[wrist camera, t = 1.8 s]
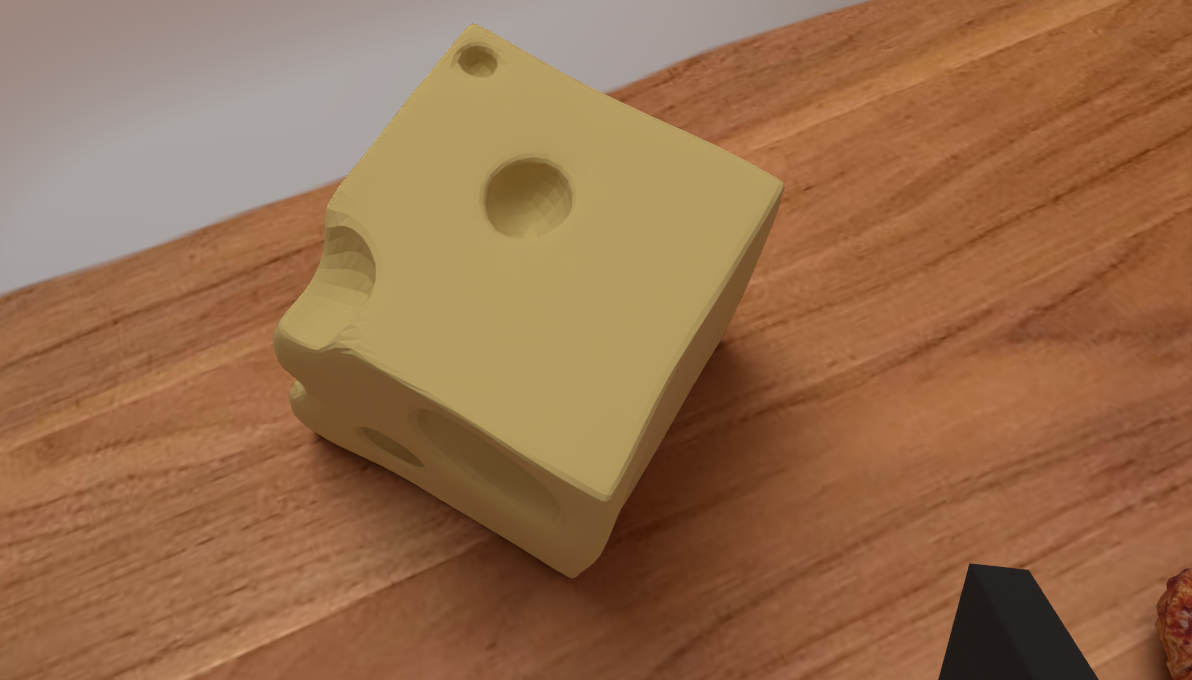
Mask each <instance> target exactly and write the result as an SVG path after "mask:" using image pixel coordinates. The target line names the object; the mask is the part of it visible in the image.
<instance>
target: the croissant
mask: <svg viewBox="0 0 1192 680" xmlns="http://www.w3.org/2000/svg"><path fill="white" fill-rule="evenodd" d="M1156 607H1157V611H1158V615H1159V617H1158V619H1157V621H1156V623H1155V626H1156V629H1157V632H1158V635H1159V638H1160V641H1161V643H1162V645H1163V647H1164V649H1165V652H1166V654H1167V656H1168V660H1167V663H1166V664H1167V666H1168V668H1169V671H1170V673H1171V676H1172V678H1173V680H1192V568H1189V569H1184V570H1183V571H1182V572H1181V573H1180V574H1178V575H1177V576H1175V577H1172V578H1170V579H1169V580H1168V581H1167V590H1166V591H1165V592H1164V593H1163V595H1162V596H1161V597H1160V599H1159V602H1158V604H1157V606H1156Z"/></svg>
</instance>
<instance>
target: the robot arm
mask: <svg viewBox="0 0 1192 680" xmlns="http://www.w3.org/2000/svg"><path fill="white" fill-rule="evenodd" d="M938 680H1098V678H1097V676H1096V675H1095V673H1094V672H1093V670H1092V669H1091V667H1090V665H1089V664H1088V662H1087V661H1086V659H1085V658H1084V656H1083V654H1082V653H1081V651H1080V650H1079V648H1078V647H1077V645H1076V643H1075V642H1074V640H1073V639H1072V637H1071V636H1070V634H1069V632H1068V631H1067V629H1066V628H1065V626H1064V625H1063V623H1062V621H1061V620H1060V618H1059V617H1058V615H1057V614H1056V612H1055V610H1054V609H1053V607H1052V606H1051V604H1050V603H1049V601H1048V600H1047V598H1046V596H1045V595H1044V593H1043V592H1042V590H1041V589H1040V587H1039V585H1038V584H1037V582H1036V581H1035V579H1034V578H1033V576H1032V574H1031V573H1030V571H1029V570H1025V569H1016V568H1007V567H998V566H989V565H980V564H971V563H970V564H969V567H968V571H967V575H966V579H965V582H964V586H963V590H962V593H961V597H960V601H959V605H958V608H957V612H956V616H955V620H954V623H953V627H952V631H951V635H950V638H949V642H948V646H947V649H946V653H945V657H944V661H943V664H942V668H941V672H940V676H939V679H938Z"/></svg>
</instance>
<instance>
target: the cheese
mask: <svg viewBox="0 0 1192 680" xmlns="http://www.w3.org/2000/svg"><path fill="white" fill-rule="evenodd" d="M784 188H785V187H784V183H783V182H782V181H781V180H779V179H778V178H776V177H774V176H773V175H771V174H769V173H767V172H765V171H763V170H761V169H760V168H758V167H756V166H755V165H753V164H751V163H749V162H748V161H746V160H744V159H742V158H740V157H738V156H736V155H734V154H732V153H730V152H728V151H726V150H724V149H722V148H720V147H718V146H716V145H714V144H712V143H710V142H708V141H705V140H703V139H701V138H699V137H696V136H694V135H692V134H690V133H687V132H685V131H683V130H681V129H679V128H676V127H674V126H672V125H670V124H667V123H665V122H663V121H661V120H659V119H656V118H654V117H652V116H650V115H648V114H645V113H643V112H641V111H639V110H637V109H635V108H633V107H630V106H628V105H626V104H624V103H622V102H620V101H618V100H616V99H614V98H612V97H610V96H607V95H605V94H603V93H601V92H599V91H597V90H595V89H593V88H591V87H589V86H587V85H585V84H583V83H581V82H580V81H578V80H576V79H574V78H572V77H570V76H568V75H566V74H564V73H562V72H560V71H559V70H557V69H555V68H553V67H552V66H550V65H548V64H546V63H545V62H543V61H541V60H539V59H538V58H536V57H534V56H532V55H530V54H529V53H527V52H525V51H524V50H522V49H520V48H519V47H517V46H515V45H513V44H512V43H510V42H508V41H507V40H505V39H503V38H501V37H500V36H498V35H496V34H494V33H492V32H491V31H489V30H487V29H485V28H483V27H481V26H478V25H477V24H471V25H469V26H468V27H467V28H466V29H465V31H464V32H463V33H462V34H461V35H460V36H459V37H458V39H457V40H456V41H455V42H454V43H453V45H452V46H451V47H450V48H449V50H448V51H447V52H446V53H445V55H444V56H443V57H442V58H441V59H440V61H439V62H438V63H437V65H436V66H435V67H434V68H433V70H432V71H431V72H430V74H429V75H428V76H427V77H426V78H425V80H424V81H423V82H422V83H421V84H420V85H419V86H418V87H417V88H416V90H415V91H414V92H413V93H412V95H411V96H410V97H409V98H408V100H407V101H406V103H405V104H404V105H403V106H402V108H401V109H400V110H399V111H398V113H397V114H396V115H395V117H394V118H393V119H392V121H391V122H390V123H389V124H388V126H387V127H386V128H385V129H384V131H383V132H382V133H381V135H380V136H379V137H378V138H377V140H376V141H375V142H374V143H373V145H372V146H371V147H370V148H369V150H368V151H367V152H366V153H365V155H364V156H363V157H362V158H361V159H360V161H359V162H358V163H357V164H356V165H355V167H354V168H353V169H352V170H351V172H350V173H349V174H348V176H347V177H346V178H345V180H344V181H343V182H342V183H341V184H340V186H339V187H338V188H337V190H336V192H335V193H334V195H333V197H332V198H331V200H330V202H329V203H328V205H327V207H326V216H325V224H324V237H325V242H324V248H323V254H322V258H321V261H320V264H319V267H318V269H317V271H316V273H315V275H314V277H313V279H312V281H311V282H310V284H309V285H308V287H307V288H306V290H305V291H304V292H303V293H302V294H301V296H300V297H299V298H298V299H297V300H296V302H295V303H294V304H293V305H292V306H291V307H290V308H289V310H288V311H287V312H286V313H285V314H284V316H283V317H282V319H281V320H280V322H279V324H278V326H277V328H276V330H275V332H274V335H273V345H274V349H275V353H276V356H277V358H278V360H279V362H280V364H281V365H282V367H283V368H284V369H285V370H286V371H288V372H289V373H290V374H291V375H292V376H293V377H295V378H296V379H297V381H296V382H295V383H294V384H293V386H292V389H291V391H290V392H289V398H290V405H291V407H292V410H293V412H294V414H295V416H296V417H297V418H298V419H299V420H300V421H301V422H302V423H303V424H304V425H306V426H307V427H308V428H310V429H311V430H313V431H314V432H316V433H318V434H319V435H321V436H322V437H324V438H326V439H327V440H329V441H331V442H333V443H335V444H336V445H338V446H341V447H343V448H345V449H347V450H349V451H351V452H353V453H355V454H357V455H360V456H362V457H364V458H366V459H368V460H370V461H372V462H375V463H377V464H379V465H381V466H383V467H385V468H387V469H389V470H390V471H392V472H394V473H396V474H398V475H400V476H401V477H403V478H405V479H407V480H409V481H410V482H412V483H414V484H415V485H417V486H418V487H420V488H422V489H423V490H425V491H427V492H428V493H430V494H432V495H433V496H435V497H436V498H438V499H440V500H441V501H443V502H445V503H446V504H448V505H450V506H451V507H453V508H455V509H456V510H458V511H460V512H462V513H463V514H465V515H467V516H468V517H470V518H472V519H473V520H475V521H477V522H478V523H480V524H482V525H483V526H485V527H487V528H488V529H490V530H492V531H493V532H495V533H497V534H498V535H500V536H502V537H503V538H505V539H507V540H508V541H510V542H512V543H513V544H515V545H516V546H518V547H520V548H521V549H523V550H524V551H526V552H528V553H529V554H531V555H532V556H534V557H536V558H537V559H539V560H540V561H542V562H544V563H545V564H547V565H548V566H550V567H552V568H553V569H555V570H557V571H559V572H560V573H562V574H564V575H565V576H567V577H569V578H576V577H577V576H578V575H579V574H580V573H581V572H582V571H584V570H585V569H587V568H588V567H589V566H591V565H592V564H593V563H594V562H595V561H596V560H597V559H598V557H599V556H600V555H601V553H602V552H603V549H604V547H605V545H606V543H607V541H608V539H609V536H610V534H611V531H612V529H613V527H614V524H615V522H616V519H617V517H618V514H619V512H620V510H621V509H622V507H623V506H624V504H625V502H626V501H627V499H628V498H629V496H630V495H631V493H632V491H633V490H634V488H635V486H636V485H637V483H638V481H639V479H640V478H641V476H642V474H643V473H644V471H645V469H646V468H647V466H648V464H649V462H650V461H651V459H652V457H653V455H654V454H655V452H656V450H657V448H658V447H659V445H660V443H661V441H662V440H663V438H664V436H665V434H666V433H667V431H668V429H669V427H670V426H671V424H672V422H673V421H674V419H675V417H676V415H677V413H678V412H679V410H680V408H681V406H682V405H683V403H684V401H685V399H686V397H687V396H688V394H689V392H690V390H691V389H692V387H693V385H694V384H695V382H696V380H697V379H698V377H699V375H700V373H701V372H702V370H703V368H704V367H705V365H706V364H707V362H708V360H709V359H710V357H711V355H712V354H713V352H714V351H715V349H716V347H717V346H718V344H719V343H720V341H721V339H722V338H723V336H724V334H725V332H726V329H727V327H728V325H729V323H730V321H731V319H732V317H733V315H734V313H735V311H736V308H737V306H738V304H739V302H740V300H741V298H742V296H743V294H744V292H745V290H746V287H747V285H748V283H749V280H750V278H751V276H752V273H753V271H754V268H755V266H756V264H757V261H758V259H759V257H760V254H761V252H762V249H763V247H764V245H765V242H766V240H767V237H768V235H769V232H770V230H771V228H772V225H773V222H774V220H775V217H776V214H777V211H778V208H779V205H780V201H781V198H782V195H783V191H784Z"/></svg>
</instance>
